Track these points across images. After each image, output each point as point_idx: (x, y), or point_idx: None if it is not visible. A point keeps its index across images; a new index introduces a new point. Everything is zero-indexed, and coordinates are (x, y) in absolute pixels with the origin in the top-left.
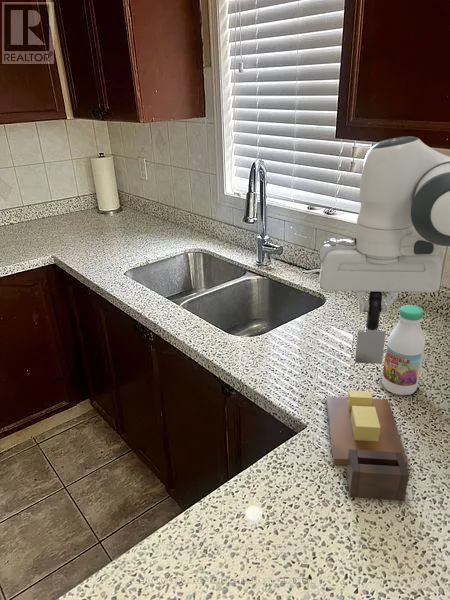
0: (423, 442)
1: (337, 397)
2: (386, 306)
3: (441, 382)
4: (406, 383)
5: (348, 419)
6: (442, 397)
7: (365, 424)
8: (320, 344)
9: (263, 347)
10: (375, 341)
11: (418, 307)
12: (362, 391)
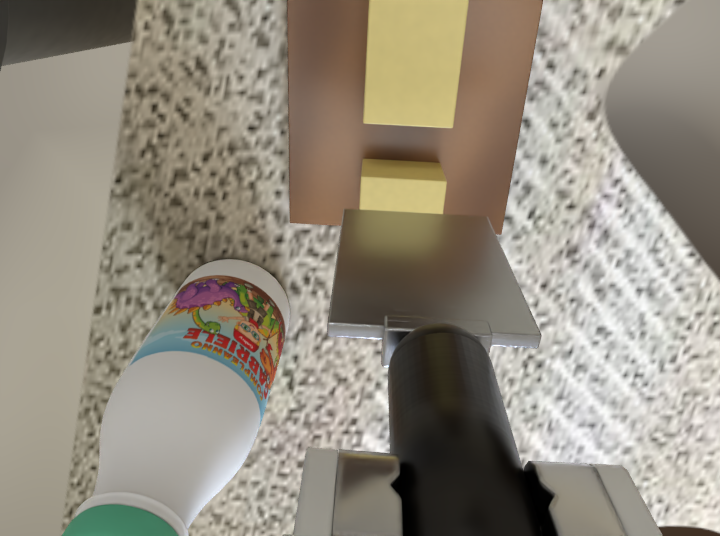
0: (205, 24)
1: None
2: (340, 514)
3: (100, 321)
4: (214, 280)
5: None
6: (107, 252)
7: (427, 7)
8: None
9: (636, 478)
10: (396, 281)
11: None
12: None
